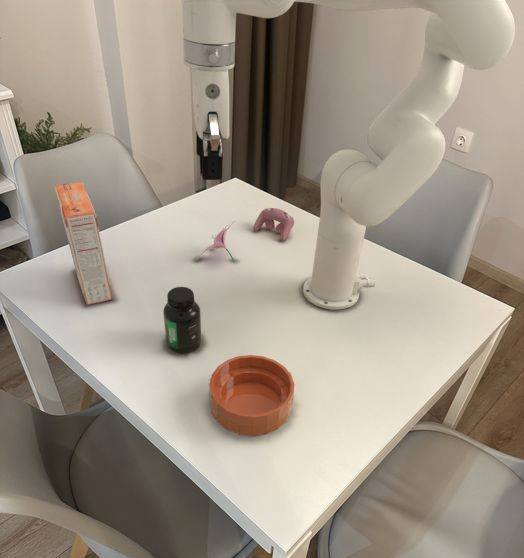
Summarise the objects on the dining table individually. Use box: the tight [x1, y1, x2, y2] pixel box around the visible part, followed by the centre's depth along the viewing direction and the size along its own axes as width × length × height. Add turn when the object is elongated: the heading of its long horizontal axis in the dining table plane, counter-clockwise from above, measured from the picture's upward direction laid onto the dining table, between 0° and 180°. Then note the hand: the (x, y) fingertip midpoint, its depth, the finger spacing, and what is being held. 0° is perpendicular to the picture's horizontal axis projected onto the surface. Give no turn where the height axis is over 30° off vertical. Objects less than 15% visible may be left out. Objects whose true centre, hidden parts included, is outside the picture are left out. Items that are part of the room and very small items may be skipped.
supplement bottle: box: [162, 286, 202, 355], centre depth 97 cm, size 7×7×12 cm
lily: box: [196, 222, 236, 262], centre depth 122 cm, size 12×12×10 cm
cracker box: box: [54, 181, 114, 306], centre depth 107 cm, size 14×6×21 cm, turn 24°
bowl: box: [208, 354, 295, 437], centre depth 88 cm, size 14×14×6 cm
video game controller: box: [253, 207, 295, 242], centre depth 133 cm, size 10×5×7 cm, turn 58°
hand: (208, 166), depth 87 cm, fingers open, 9 cm apart
